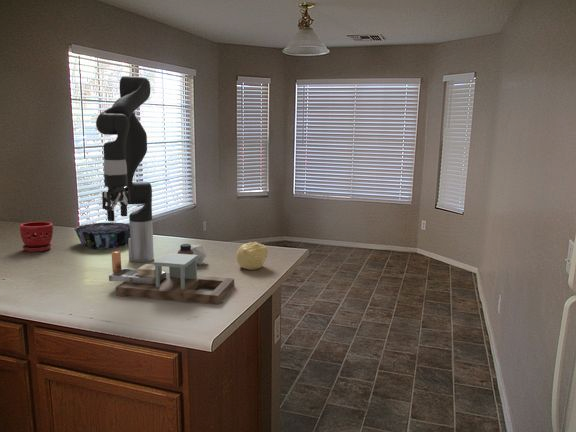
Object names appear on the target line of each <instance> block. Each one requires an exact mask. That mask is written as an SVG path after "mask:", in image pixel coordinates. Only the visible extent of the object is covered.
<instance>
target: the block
mask: <svg viewBox="0 0 576 432" xmlns="http://www.w3.org/2000/svg"><path fill="white" fill-rule="evenodd" d="M162 267H163V266H159V274H160V273H161V272H162V271H163V270H162V269H163V268H162ZM137 269H138V277H149V278H154V277H155V266H154V263H144V264H143V265H142V266H140V267H138V268H137Z"/></svg>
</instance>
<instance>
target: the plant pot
mask: <svg viewBox="0 0 576 432" xmlns="http://www.w3.org/2000/svg"><path fill="white" fill-rule="evenodd" d="M19 232H20V237H21V241H22V242H23V246H22V249H23V250H24V251H26V252H29V253H33V252H34V253H35V252H44V251H47V250H49V249H50V248H51V247H52V242H51V241H52V239H53V233H54V224H53V223H52V222H49V221H48V222H47V221H31V222H25V223H21V224H20V225H19Z"/></svg>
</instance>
